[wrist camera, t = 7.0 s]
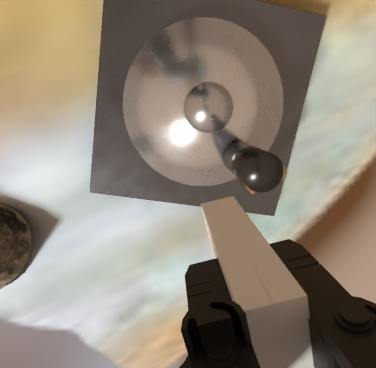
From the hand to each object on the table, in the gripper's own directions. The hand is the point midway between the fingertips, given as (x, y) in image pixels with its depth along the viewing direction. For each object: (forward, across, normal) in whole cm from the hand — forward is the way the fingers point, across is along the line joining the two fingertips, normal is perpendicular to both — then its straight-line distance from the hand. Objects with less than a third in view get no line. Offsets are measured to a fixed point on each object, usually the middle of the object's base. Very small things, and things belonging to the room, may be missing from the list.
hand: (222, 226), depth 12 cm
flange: (+17, +3, +4) cm, 18 cm away
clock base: (+20, +2, +5) cm, 21 cm away
